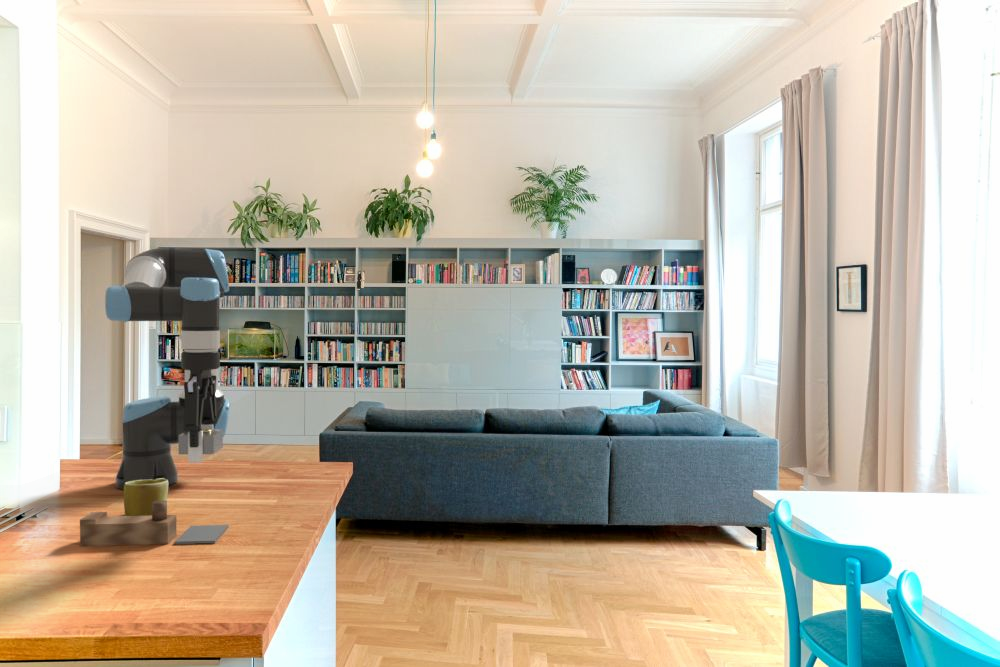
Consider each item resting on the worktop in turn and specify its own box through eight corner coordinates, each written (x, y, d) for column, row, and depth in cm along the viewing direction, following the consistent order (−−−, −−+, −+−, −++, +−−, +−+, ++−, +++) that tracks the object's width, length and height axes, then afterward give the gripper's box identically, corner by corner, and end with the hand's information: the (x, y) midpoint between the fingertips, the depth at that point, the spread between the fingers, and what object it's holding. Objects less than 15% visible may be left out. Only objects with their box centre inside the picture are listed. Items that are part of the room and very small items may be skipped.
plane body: (80, 546, 137) (79, 507, 136) (92, 537, 142) (91, 500, 141) (167, 543, 139) (167, 505, 138) (176, 535, 144) (176, 498, 143)
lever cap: (178, 454, 139) (178, 432, 139) (189, 447, 146) (189, 426, 145) (213, 454, 140) (213, 431, 140) (222, 447, 146) (222, 426, 146)
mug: (151, 516, 150) (146, 472, 152) (114, 527, 152) (109, 483, 154) (190, 511, 162) (184, 470, 164) (154, 521, 164) (149, 480, 166)
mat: (190, 528, 148) (190, 525, 148) (228, 527, 149) (228, 524, 149) (174, 544, 138) (174, 541, 138) (214, 543, 139) (214, 540, 139)
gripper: (197, 347, 151) (198, 448, 152) (164, 353, 132) (165, 469, 133) (231, 347, 152) (232, 448, 153) (204, 354, 133) (205, 469, 134)
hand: (201, 457), depth 143 cm, fingers closed on lever cap, 6 cm apart
